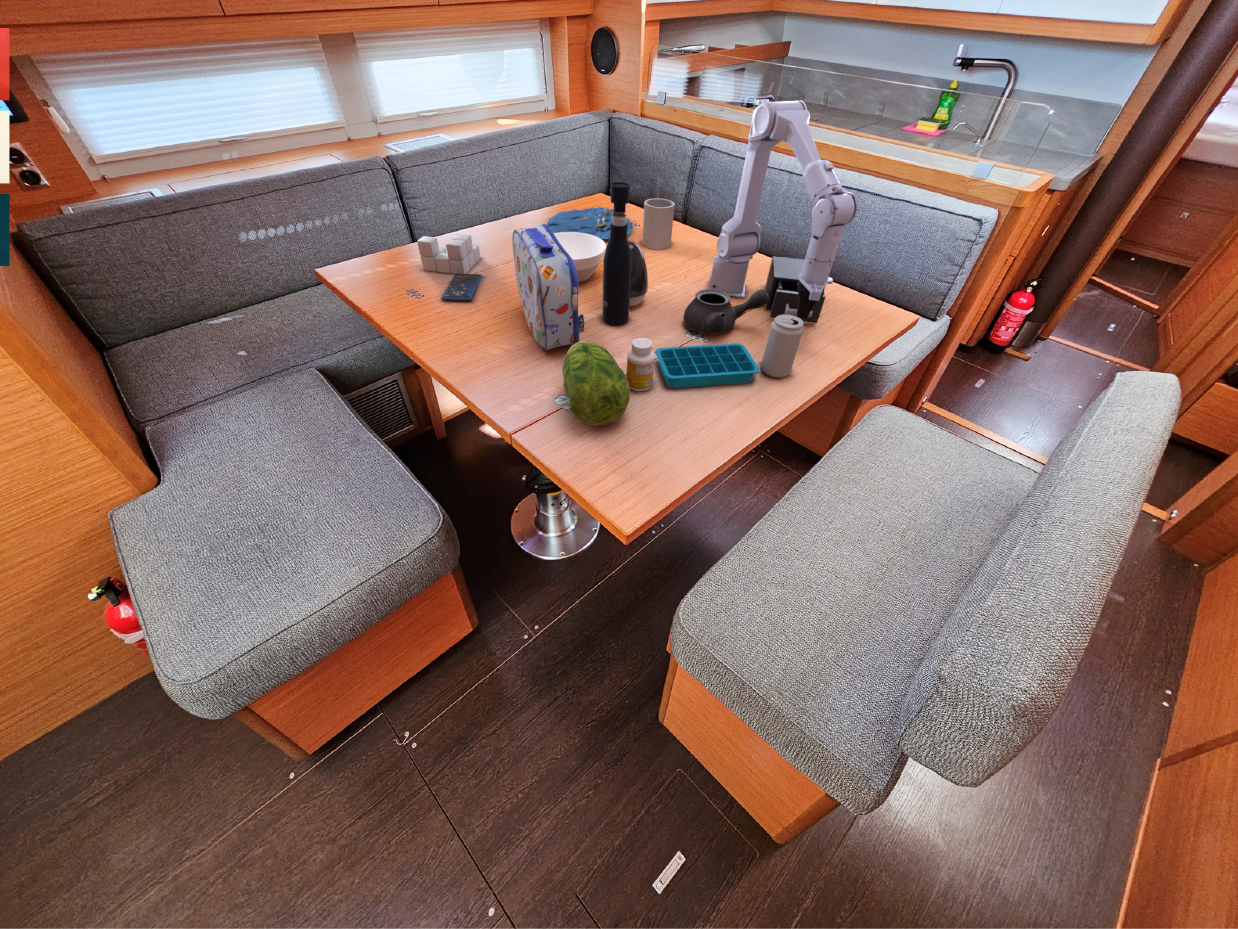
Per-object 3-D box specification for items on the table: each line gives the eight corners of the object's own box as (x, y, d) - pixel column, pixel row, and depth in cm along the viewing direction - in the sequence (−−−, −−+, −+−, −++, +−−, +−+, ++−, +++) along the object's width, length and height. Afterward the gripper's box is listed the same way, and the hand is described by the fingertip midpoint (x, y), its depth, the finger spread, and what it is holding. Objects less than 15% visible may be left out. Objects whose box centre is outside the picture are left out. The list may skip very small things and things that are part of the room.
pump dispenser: (614, 290, 137) (616, 231, 126) (651, 297, 135) (656, 237, 124) (600, 306, 130) (601, 245, 119) (639, 314, 128) (644, 252, 117)
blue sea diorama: (603, 256, 157) (603, 238, 153) (527, 232, 167) (526, 215, 164) (652, 225, 174) (653, 209, 170) (581, 205, 185) (580, 190, 181)
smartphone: (482, 273, 139) (470, 298, 128) (482, 276, 140) (471, 301, 129) (454, 272, 139) (440, 297, 128) (454, 275, 139) (441, 300, 128)
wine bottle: (632, 316, 127) (640, 182, 106) (623, 327, 122) (630, 191, 102) (607, 311, 128) (611, 178, 107) (598, 322, 124) (600, 186, 103)
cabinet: (816, 315, 131) (826, 282, 125) (766, 309, 132) (774, 276, 126) (811, 292, 140) (821, 261, 134) (765, 287, 142) (772, 256, 136)
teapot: (690, 346, 117) (697, 305, 110) (678, 314, 128) (683, 275, 121) (770, 344, 119) (781, 304, 112) (750, 313, 130) (759, 274, 123)
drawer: (818, 331, 123) (827, 305, 118) (770, 325, 124) (777, 299, 119) (812, 300, 135) (820, 275, 130) (768, 295, 136) (775, 270, 131)
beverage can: (790, 381, 108) (806, 330, 100) (759, 377, 109) (773, 325, 101) (789, 365, 113) (804, 315, 105) (759, 361, 114) (773, 311, 105)
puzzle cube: (480, 258, 149) (476, 229, 143) (464, 275, 140) (459, 245, 135) (441, 253, 150) (436, 225, 145) (423, 270, 141) (416, 241, 136)
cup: (671, 249, 159) (675, 208, 151) (642, 248, 159) (644, 207, 150) (669, 239, 165) (673, 199, 157) (641, 237, 165) (644, 197, 157)
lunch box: (590, 356, 113) (590, 255, 98) (544, 364, 110) (537, 261, 94) (554, 301, 131) (549, 209, 116) (514, 307, 128) (503, 213, 113)
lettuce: (606, 368, 109) (607, 320, 101) (635, 429, 95) (638, 378, 87) (553, 375, 107) (550, 326, 99) (574, 438, 92) (572, 386, 85)
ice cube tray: (758, 384, 107) (762, 372, 105) (665, 391, 104) (666, 378, 102) (739, 354, 115) (742, 342, 113) (652, 360, 112) (653, 348, 110)
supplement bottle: (624, 377, 107) (626, 335, 100) (650, 376, 108) (654, 335, 101) (627, 392, 103) (629, 350, 97) (653, 391, 104) (657, 349, 97)
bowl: (522, 281, 139) (519, 250, 133) (555, 256, 152) (554, 227, 146) (588, 296, 134) (588, 264, 128) (616, 268, 147) (617, 239, 141)
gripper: (844, 272, 102) (822, 334, 111) (835, 246, 112) (816, 304, 121) (807, 268, 102) (789, 330, 112) (802, 242, 113) (786, 301, 122)
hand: (801, 316), depth 117 cm, fingers closed
